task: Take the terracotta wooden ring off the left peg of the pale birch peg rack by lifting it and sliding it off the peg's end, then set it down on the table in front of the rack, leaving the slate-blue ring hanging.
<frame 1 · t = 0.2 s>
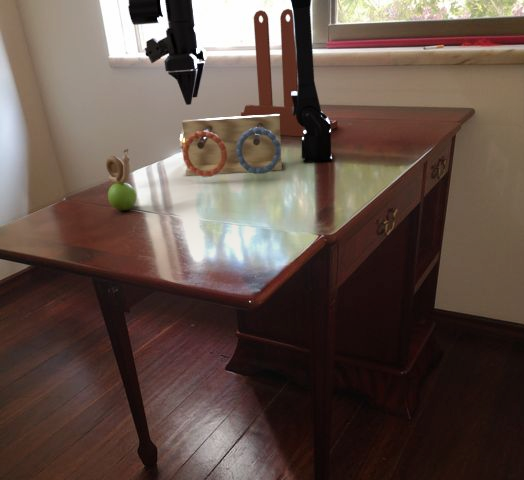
hand: (191, 100, 126), 15 cm above the table, tool pointing down, fingers open, 9 cm apart
snail figurine: (127, 211, 110), on the table
terracotta ring: (204, 154, 118), point 6 cm above the table, touching peg rack
ring: (193, 160, 140), on the table
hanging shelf: (289, 130, 160), on the table
peg rack: (234, 169, 130), on the table
slate ring: (258, 151, 117), point 6 cm above the table, touching peg rack
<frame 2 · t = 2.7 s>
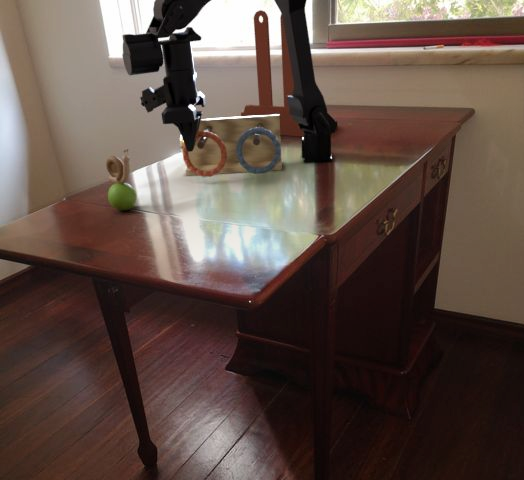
hand: (190, 150, 118), 7 cm above the table, tool pointing down, fingers closed on terracotta ring, 1 cm apart
terracotta ring: (204, 154, 118), point 6 cm above the table, touching gripper, peg rack
everything else where it was.
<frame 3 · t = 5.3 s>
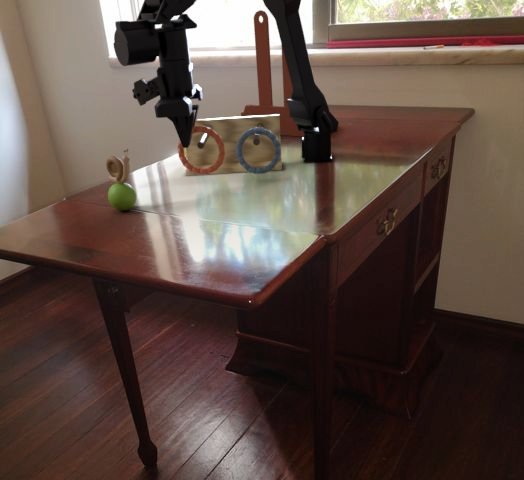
hand: (186, 146, 111), 10 cm above the table, tool pointing down, fingers closed on terracotta ring
terracotta ring: (201, 150, 111), point 9 cm above the table, touching gripper
everything else where it was.
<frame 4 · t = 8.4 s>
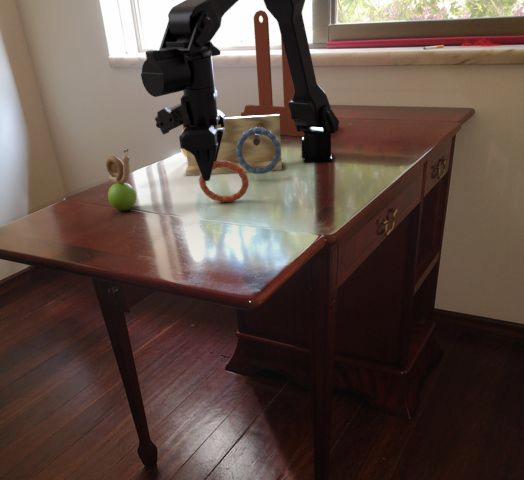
hand: (209, 174, 108), 5 cm above the table, tool pointing down, fingers open, 7 cm apart
terracotta ring: (223, 182, 106), point 4 cm above the table, tilted 22°, touching gripper
everything else where it was.
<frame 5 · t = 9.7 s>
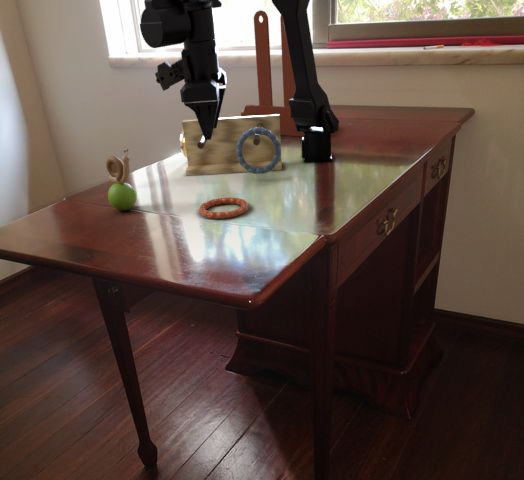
hand: (210, 133, 105), 13 cm above the table, tool pointing down, fingers open, 9 cm apart
terracotta ring: (223, 207, 106), point 1 cm above the table, tilted 90°
everything else where it was.
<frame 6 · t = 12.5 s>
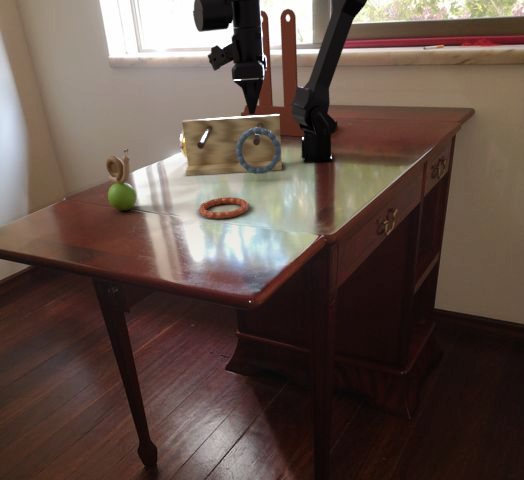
hand: (253, 109, 120), 13 cm above the table, tool pointing down, fingers open, 9 cm apart
nothing on the table moved.
at the end: terracotta ring inside the target area (5.0 cm from its centre), point 0.6 cm above the table; terracotta ring touching table; slate ring moved 0.1 cm from its start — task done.
